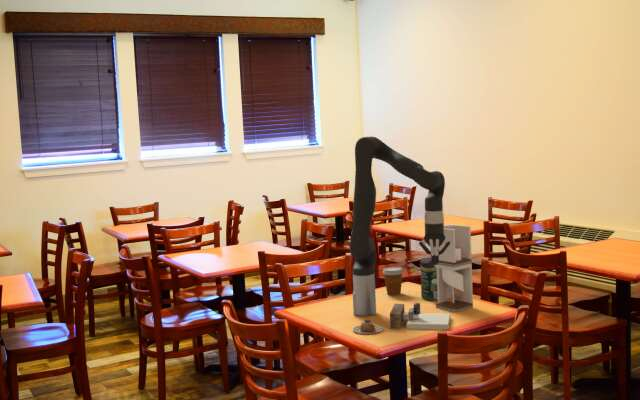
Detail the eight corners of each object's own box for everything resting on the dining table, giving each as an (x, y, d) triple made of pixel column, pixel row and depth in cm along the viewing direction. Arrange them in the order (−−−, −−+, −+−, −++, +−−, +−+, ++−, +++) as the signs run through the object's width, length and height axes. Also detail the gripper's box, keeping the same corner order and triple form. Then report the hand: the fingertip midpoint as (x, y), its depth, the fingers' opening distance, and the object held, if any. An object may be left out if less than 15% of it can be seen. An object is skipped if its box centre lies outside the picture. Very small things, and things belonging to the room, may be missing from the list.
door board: (406, 328, 304) (406, 315, 304) (410, 318, 320) (410, 305, 319) (448, 329, 301) (447, 315, 300) (450, 318, 316) (449, 305, 316)
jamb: (390, 328, 306) (389, 313, 305) (395, 317, 321) (394, 303, 320) (401, 328, 305) (400, 314, 304) (405, 318, 320) (404, 303, 320)
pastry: (353, 327, 312) (352, 316, 311) (383, 327, 310) (383, 315, 310) (352, 336, 300) (351, 324, 299) (383, 335, 299) (382, 323, 298)
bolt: (393, 318, 311) (392, 304, 311) (394, 316, 315) (393, 302, 314) (420, 319, 309) (419, 304, 308) (420, 316, 312) (420, 302, 312)
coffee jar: (418, 297, 354) (417, 257, 352) (434, 295, 356) (433, 255, 354) (428, 302, 345) (426, 261, 343) (444, 299, 347) (442, 259, 345)
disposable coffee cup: (382, 296, 359) (381, 271, 358) (384, 291, 369) (383, 266, 367) (403, 296, 358) (402, 270, 356) (404, 291, 367) (403, 266, 366)
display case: (436, 307, 334) (433, 227, 330) (453, 303, 340) (450, 224, 336) (455, 312, 325) (453, 229, 321) (473, 307, 331) (470, 226, 327)
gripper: (416, 223, 307) (417, 266, 309) (450, 222, 303) (451, 266, 305) (418, 220, 314) (419, 262, 316) (451, 220, 311) (452, 262, 313)
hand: (435, 264), depth 311 cm, fingers closed
